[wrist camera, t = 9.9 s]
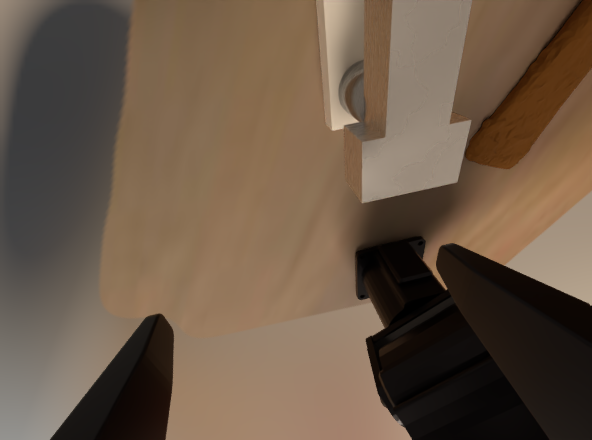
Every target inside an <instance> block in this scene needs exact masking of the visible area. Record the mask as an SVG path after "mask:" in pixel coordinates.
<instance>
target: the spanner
mask: <svg viewBox="0 0 592 440" xmlns="http://www.w3.org/2000/svg"><path fill="white" fill-rule="evenodd" d="M471 4H472V0H364V121H362V122H357V123H352V124H347V125H344V151H345V178H346V182H347V183H348V185H349V186H350V187H351V189H352V190H353V192H354V193H355V194H356V196H357V197H358V199H359V200H360V201H361V203H366V202H371V201H375V200H380V199H384V198H389V197H393V196H398V195H402V194H407V193H411V192H416V191H420V190H425V189H430V188H434V187H439V186H443V185H448V184H452V183H457V181H458V177H459V173H460V168H461V164H462V160H463V155H464V151H465V147H466V142H467V138H468V133H469V129H470V125H471V119H468V118H466V117H463V116H461V115H459V114H456V113H454V112H452V107H453V102H454V96H455V91H456V85H457V80H458V75H459V69H460V64H461V58H462V53H463V48H464V42H465V37H466V31H467V26H468V20H469V15H470V10H471Z"/></svg>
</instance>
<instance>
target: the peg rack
mask: <svg viewBox="0 0 592 440" xmlns="http://www.w3.org/2000/svg"><path fill="white" fill-rule="evenodd" d="M316 8H317V21H318V33H319V46H320V59H321V72H322V85H323V97H324V110H325V123H326V125H327V126H328V127H329V128H330V129H331V130H332V131H333V130H338V129H343V128H344V125H347V124H352V123H357V122H362V121H364V0H316Z"/></svg>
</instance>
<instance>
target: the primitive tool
mask: <svg viewBox="0 0 592 440" xmlns="http://www.w3.org/2000/svg"><path fill="white" fill-rule="evenodd" d="M591 68H592V0H583V1H582V2H581V3H580V5H579V6H578V7H577V8H576V10H575V11H574V12H573V14H572V15H571V16H570V18H569V19H568V20H567V21H566V23H565V24H564V25H563V27H562V28H561V30H560V31H559V32H558V33H557V35H556V36H555V37H554V38H553V40H552V41H551V42H550V43H549V45H548V46H547V47H546V48H545V49H544V50H543V51H542V52H541V53H540V55H539V56H538V58H537V60H536V61H535V62H534V63H532V64H531V65H530V67H529V69H528V71H527V72H526V74H525V75H524V76H523V77H522V78H521V80H520V82H519V83H518V84H517V85H516V86H515V88H514V89H513V90H512V91H511V92H510V93H509V95H508V96H507V97H506V99H505V100H504V101H503V103H502V104H501V105H500V106H499V107H498V108H497V110H496V111H495V112H494V114H493V115H492V116H491V117H490V118H489V119H486V120H485V121H484V122H483V123H482V127H481V129H480V130H479V131H478V132H477V133H476V134H475V135H474V136H473V137H472V139H471V140H470V145H469V146H468V148H467V149H466V153H465V156H466V158H467V159H468V160H469V161H475V162H476V163H479V164H482V165H488V166H492V167H497V168H502V169H510V168H512V167H513V166H515V165H516V164H517V163H518V162H519V160H520V159H522V158H523V157H524V156H525V155H526V154H527V153H528V151H529V150H530V148H531V146H532V145H533V144H534V142H535V141H536V140H537V138H538V137H539V136H540V134H541V133H542V131H543V130H544V129H545V127H546V126H547V125H548V123H549V122H550V121H551V120H552V118H553V117H554V115H555V114H556V113H557V111H558V110H559V108H560V107H561V106H562V105H563V103H564V102H565V101H566V100H567V98H568V97H569V96H570V94H571V93H572V92H573V90H574V89H575V88H576V87H577V86H578V85H579V83H580V82H581V81H582V79H583V78H584V77H585V76H586V74H587V73H588V72H589V70H590V69H591Z"/></svg>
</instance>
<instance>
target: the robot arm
mask: <svg viewBox="0 0 592 440" xmlns="http://www.w3.org/2000/svg"><path fill="white" fill-rule="evenodd" d="M425 243H426V241H425V240H424V238H423V237H421V236H420V237H415V238H410V239H406V240H402V241H398V242H394V243H389V244H385V245H381V246H377V247H372V248H368V249H364V250H360V251H358V252H357V253H356V255H355V260H356V295H357V298H358V299H359V300H363V299H367V298H370V299H371V301H372V303H373V305H374V307H375V309H376V311H377V313H378V315H379V317H380V319H381V322H382V324H383V326H384V327H385V329H383V330H381V331H380V332H378V333H377V334H375V335H373V336H370V337H368V338H366V344H367V348H368V349H367V350H368V354H369V358H370V363H371V367H372V371H373V375H374V379H375V383H376V387H377V391H378V394H379V396H380V400H381V403H382V404H383V406H384V407H386V408H388V410H389V412H390V413H391V415H392V416H393V417H394V419H395V420H396V421H397V422H398V423H399V424H400V425H401V426H403V427H405V428H406V430H407V432H408V433H409V435H410V437H411V438H412V440H592V306H590V304H588V303H586V302H584V301H582V300H580V299H577V298H575V297H573V296H570V295H568V294H566V293H564V292H562V291H560V290H557V289H555V288H553V287H551V286H548V285H546V284H544V283H542V282H539V281H537V280H535V279H533V278H530V277H528V276H526V275H524V274H522V273H519V272H517V271H515V270H513V269H510V268H508V267H506V266H504V265H502V264H499V263H497V262H495V261H493V260H490V259H488V258H486V257H484V256H481V255H479V254H477V253H475V252H473V251H470V250H468V249H466V248H464V247H461V246H459V245H457V244H454V243H450V244H446V245H442V246H441V247H440V248H439V252H438V256H437V261H436V267H437V270H438V272H439V274H440V276H441V278H442V279H443V281H444V283H445V285H446V287H447V288H448V289H447V290H445V288H444V287H443V286H442V285H441V283H440V282H439V281H438V280H437V278H436V277H435V276H434V275H433V272H432V271H431V270H430V268H429V267H428V266H427V265H426V263H425V262H424V261H423V254H424V248H425ZM173 344H174V334H173V329H172V327H171V326H170V324H169V323H168V321H167V320H166V319H165V317H164V316H163V315H162V314H155V315H151V316H148V317H146V318H145V319H144V321H143V322H142V323H141V324H140V326H139V327H138V328H137V329H136V331H135V332H134V333H133V334H132V336H131V337H130V338H129V340H128V341H127V342H126V343H125V345H124V346H123V347H122V348H121V350H120V351H119V352H118V354H117V355H116V356H115V358H114V359H113V360H112V361H111V362H110V364H109V365H108V366H107V368H106V369H105V370H104V371H103V373H102V374H101V375H100V377H99V378H98V379H97V380H96V382H95V383H94V384H93V385H92V387H91V388H90V389H89V391H88V392H87V393H86V394H85V396H84V397H83V398H82V399H81V401H80V402H79V403H78V405H77V406H76V407H75V408H74V410H73V411H72V412H71V413H70V415H69V416H68V417H67V419H66V420H65V421H64V423H63V424H62V425H61V426H60V428H59V429H58V430H57V431H56V433H55V434H54V435H53V436H52V438H51V439H50V440H165V439H166V432H167V424H168V417H169V408H170V401H171V394H172V384H173V348H174V345H173Z"/></svg>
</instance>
